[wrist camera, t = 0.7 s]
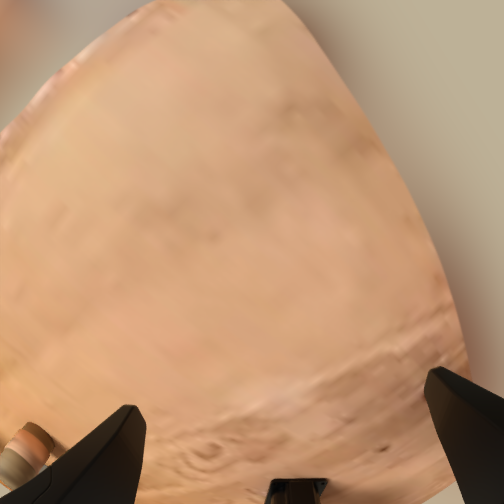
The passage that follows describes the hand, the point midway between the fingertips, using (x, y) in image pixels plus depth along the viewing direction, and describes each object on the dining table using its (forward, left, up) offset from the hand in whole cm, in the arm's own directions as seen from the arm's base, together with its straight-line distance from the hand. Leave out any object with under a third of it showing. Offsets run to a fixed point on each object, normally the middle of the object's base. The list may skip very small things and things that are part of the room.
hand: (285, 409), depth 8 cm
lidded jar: (-27, +27, -14) cm, 41 cm away
